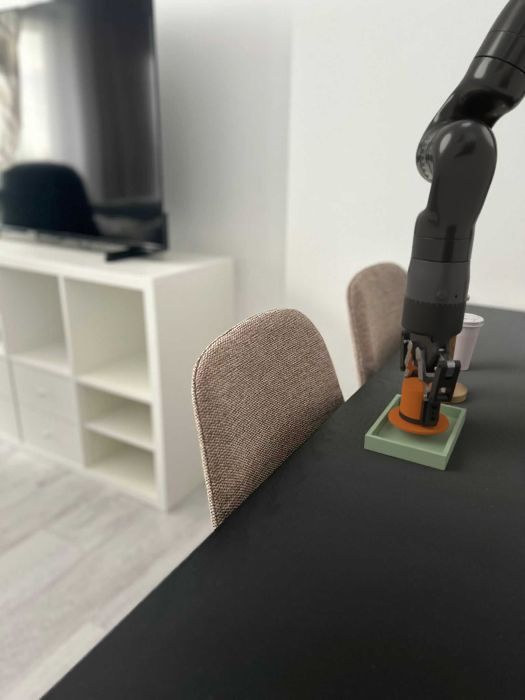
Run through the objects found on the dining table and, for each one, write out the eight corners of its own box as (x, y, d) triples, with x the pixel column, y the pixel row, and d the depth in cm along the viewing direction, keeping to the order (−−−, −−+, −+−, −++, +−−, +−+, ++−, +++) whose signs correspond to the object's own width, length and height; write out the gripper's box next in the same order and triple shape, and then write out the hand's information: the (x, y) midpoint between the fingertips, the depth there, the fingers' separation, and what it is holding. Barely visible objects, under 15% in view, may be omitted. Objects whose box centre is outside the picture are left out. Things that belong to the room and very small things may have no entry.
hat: (434, 407, 74) (439, 372, 73) (459, 433, 67) (465, 396, 65) (380, 408, 74) (384, 373, 72) (400, 435, 66) (404, 397, 64)
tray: (395, 405, 80) (397, 393, 79) (464, 421, 75) (466, 408, 74) (363, 448, 67) (365, 435, 66) (444, 470, 62) (446, 456, 62)
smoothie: (443, 358, 100) (454, 288, 95) (478, 365, 97) (490, 292, 92) (436, 368, 95) (446, 294, 90) (472, 375, 92) (485, 299, 87)
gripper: (493, 308, 58) (470, 440, 64) (439, 282, 71) (424, 393, 77) (429, 308, 57) (412, 442, 63) (387, 282, 71) (376, 394, 76)
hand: (419, 414), depth 70 cm, fingers closed on hat, 5 cm apart
